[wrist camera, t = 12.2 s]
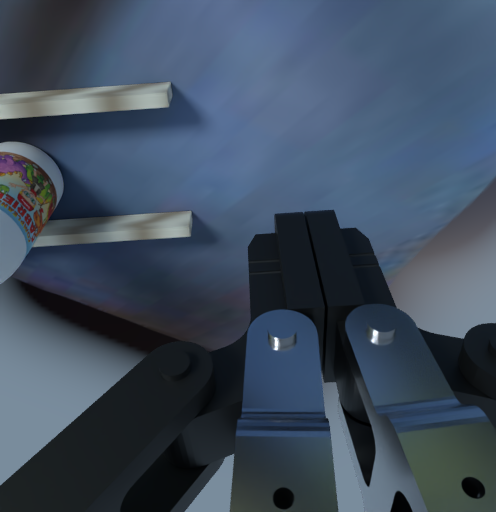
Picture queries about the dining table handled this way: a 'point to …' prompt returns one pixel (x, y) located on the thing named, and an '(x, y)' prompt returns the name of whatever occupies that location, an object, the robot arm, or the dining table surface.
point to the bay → (91, 103)
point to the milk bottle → (24, 200)
